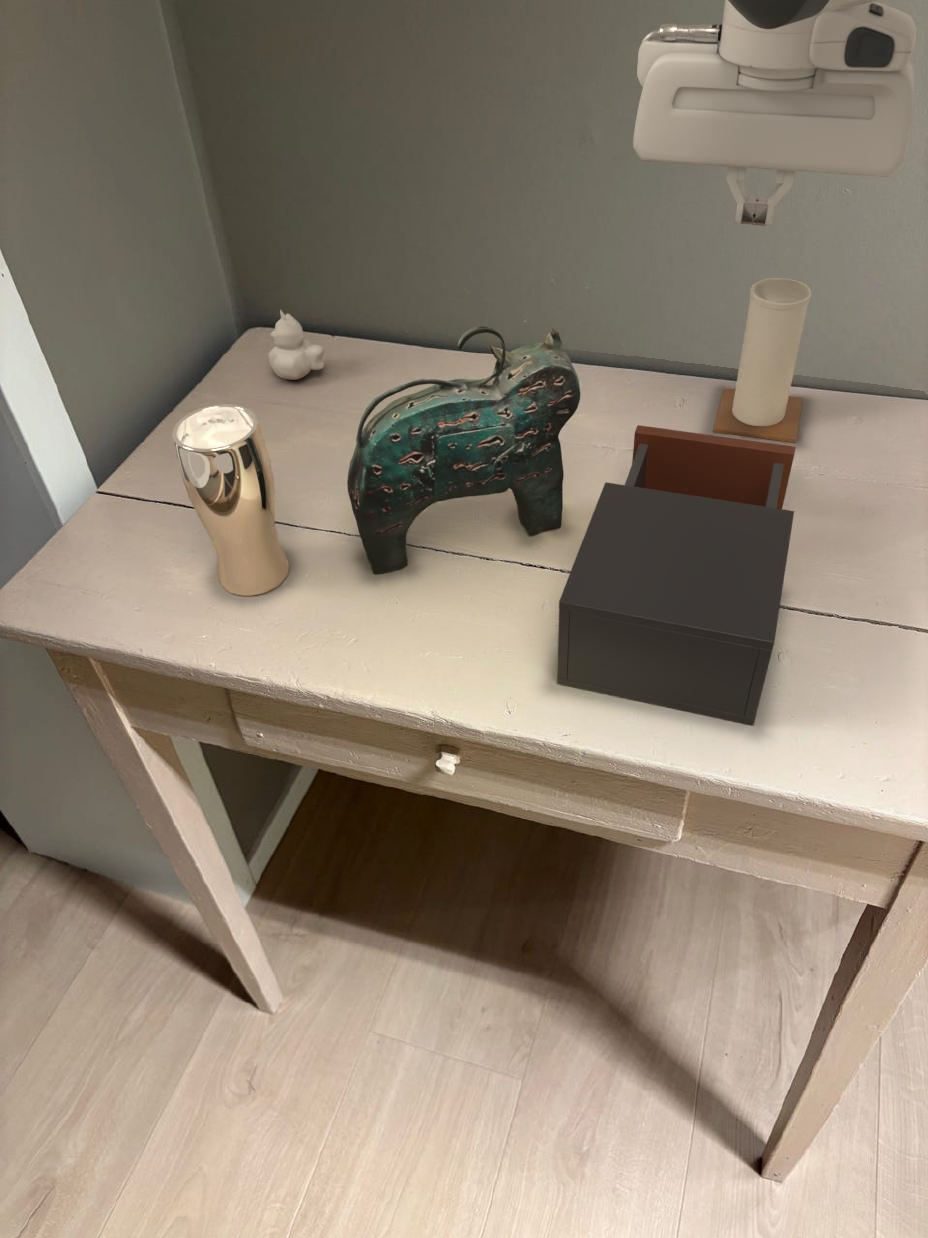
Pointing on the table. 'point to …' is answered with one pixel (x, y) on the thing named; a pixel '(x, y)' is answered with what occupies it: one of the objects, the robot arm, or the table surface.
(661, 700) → the cabinet
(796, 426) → the coaster
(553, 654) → the table surface
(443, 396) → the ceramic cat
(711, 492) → the drawer
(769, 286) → the container
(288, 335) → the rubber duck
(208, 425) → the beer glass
